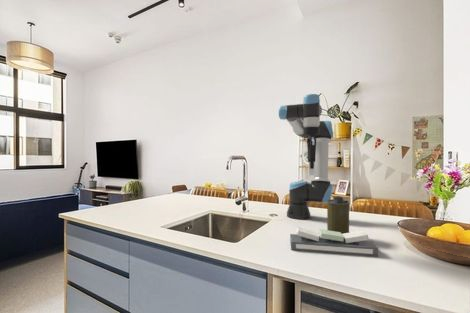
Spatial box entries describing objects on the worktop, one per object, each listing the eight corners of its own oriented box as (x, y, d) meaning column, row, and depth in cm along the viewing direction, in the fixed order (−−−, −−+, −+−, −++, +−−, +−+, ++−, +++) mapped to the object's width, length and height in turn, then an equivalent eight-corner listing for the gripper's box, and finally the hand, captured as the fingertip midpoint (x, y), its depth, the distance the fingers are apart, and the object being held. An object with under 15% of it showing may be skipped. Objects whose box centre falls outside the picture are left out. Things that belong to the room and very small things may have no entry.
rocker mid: (318, 233, 106) (319, 229, 106) (339, 236, 104) (340, 232, 104) (321, 238, 100) (321, 233, 100) (343, 241, 98) (343, 236, 98)
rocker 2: (342, 238, 104) (341, 233, 104) (364, 234, 102) (362, 230, 102) (346, 243, 98) (345, 238, 98) (369, 239, 96) (367, 234, 96)
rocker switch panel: (290, 241, 110) (290, 231, 110) (368, 246, 103) (368, 236, 103) (291, 250, 100) (291, 239, 100) (378, 256, 93) (378, 245, 93)
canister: (336, 240, 111) (336, 198, 111) (322, 233, 121) (322, 195, 121) (355, 238, 114) (355, 197, 114) (340, 231, 124) (340, 194, 124)
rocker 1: (296, 230, 108) (297, 226, 108) (316, 236, 106) (317, 232, 106) (297, 235, 102) (298, 230, 102) (318, 241, 100) (319, 236, 100)
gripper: (301, 128, 121) (302, 173, 121) (305, 125, 108) (305, 176, 108) (317, 127, 119) (317, 173, 120) (322, 125, 106) (322, 176, 107)
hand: (311, 175), depth 114 cm, fingers closed
